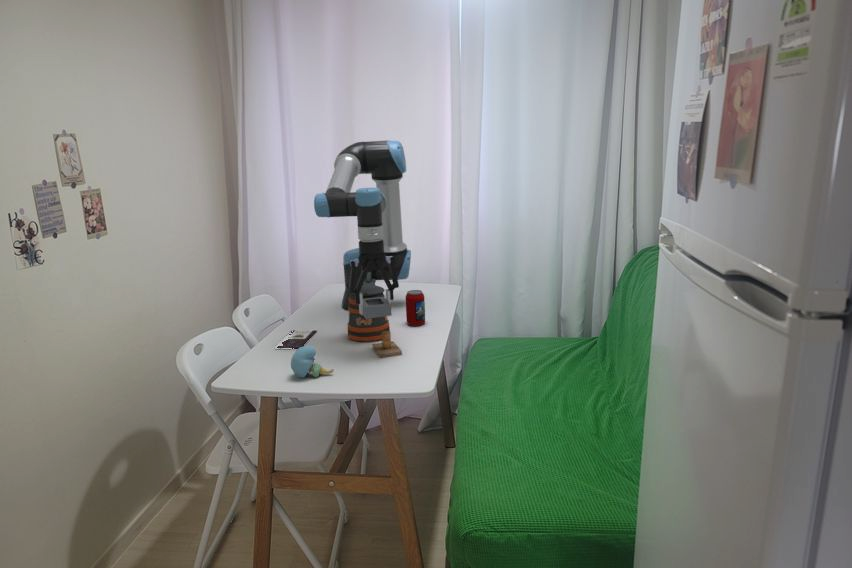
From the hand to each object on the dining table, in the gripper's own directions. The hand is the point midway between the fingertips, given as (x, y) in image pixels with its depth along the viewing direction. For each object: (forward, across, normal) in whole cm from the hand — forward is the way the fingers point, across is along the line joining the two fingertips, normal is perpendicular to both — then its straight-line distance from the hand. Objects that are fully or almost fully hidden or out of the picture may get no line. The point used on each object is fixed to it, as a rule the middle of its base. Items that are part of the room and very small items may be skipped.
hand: (375, 311), depth 190 cm
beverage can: (+13, +19, +23) cm, 33 cm away
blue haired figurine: (+13, -22, -12) cm, 28 cm away
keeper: (+13, +3, 0) cm, 14 cm away
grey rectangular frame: (0, 0, 0) cm, 0 cm away
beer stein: (+13, +2, +20) cm, 24 cm away
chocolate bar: (+14, -23, +22) cm, 35 cm away
